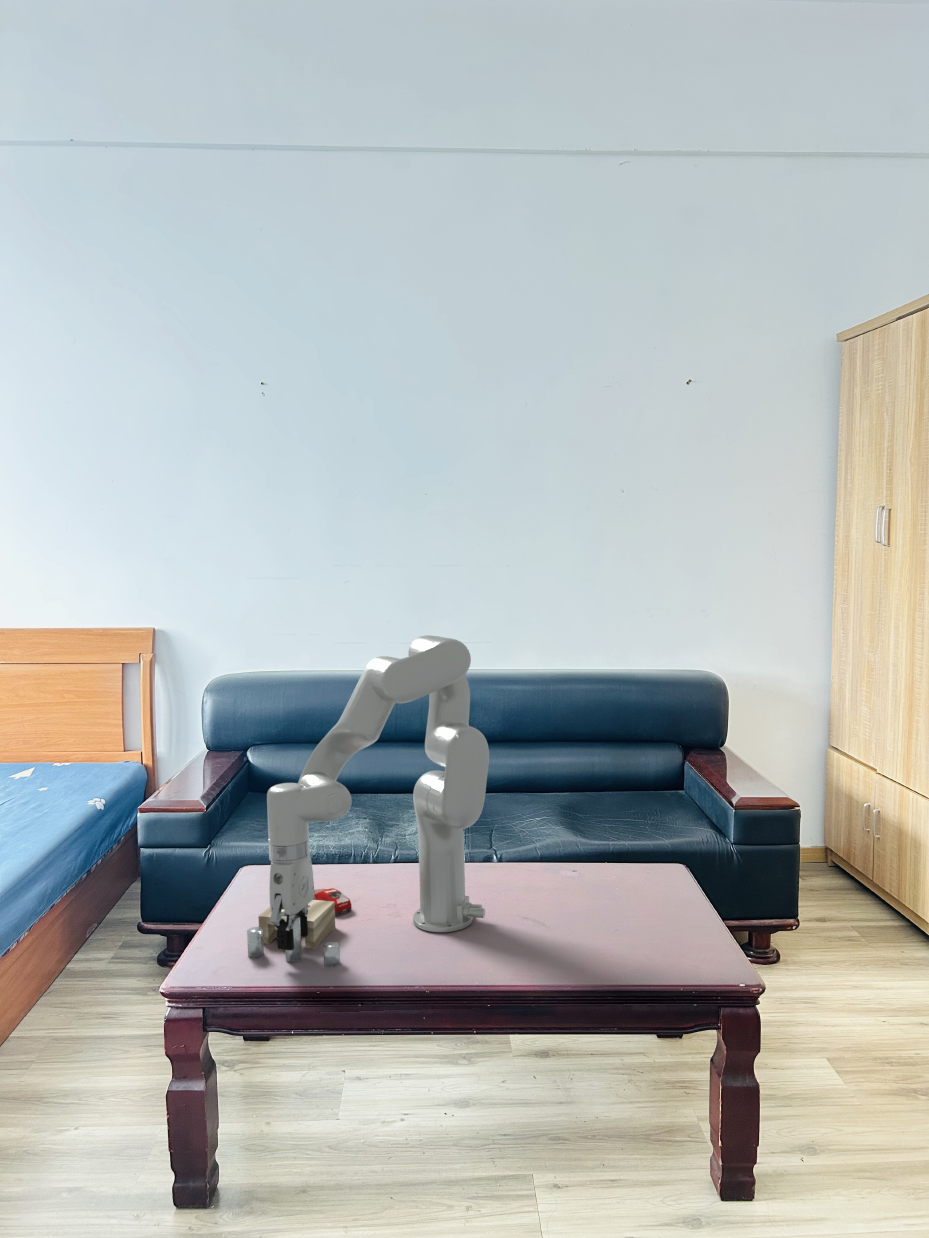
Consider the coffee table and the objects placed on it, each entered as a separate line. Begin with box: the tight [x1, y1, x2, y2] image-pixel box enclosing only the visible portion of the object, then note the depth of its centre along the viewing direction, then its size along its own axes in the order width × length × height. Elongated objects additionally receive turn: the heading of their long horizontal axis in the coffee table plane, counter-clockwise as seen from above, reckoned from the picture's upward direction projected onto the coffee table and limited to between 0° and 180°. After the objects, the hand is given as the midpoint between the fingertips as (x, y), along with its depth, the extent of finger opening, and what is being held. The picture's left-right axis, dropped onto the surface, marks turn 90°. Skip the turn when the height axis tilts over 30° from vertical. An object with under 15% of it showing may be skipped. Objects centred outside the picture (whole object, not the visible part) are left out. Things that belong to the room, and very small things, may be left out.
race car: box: [312, 887, 352, 916], centre depth 191 cm, size 13×5×4 cm, turn 40°
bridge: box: [258, 900, 336, 949], centre depth 176 cm, size 12×10×6 cm
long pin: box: [284, 915, 303, 964], centre depth 166 cm, size 3×3×8 cm
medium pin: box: [246, 926, 265, 960], centre depth 168 cm, size 3×3×5 cm
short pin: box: [323, 941, 341, 968], centre depth 164 cm, size 3×3×4 cm
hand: (292, 941), depth 166 cm, fingers open, 5 cm apart
